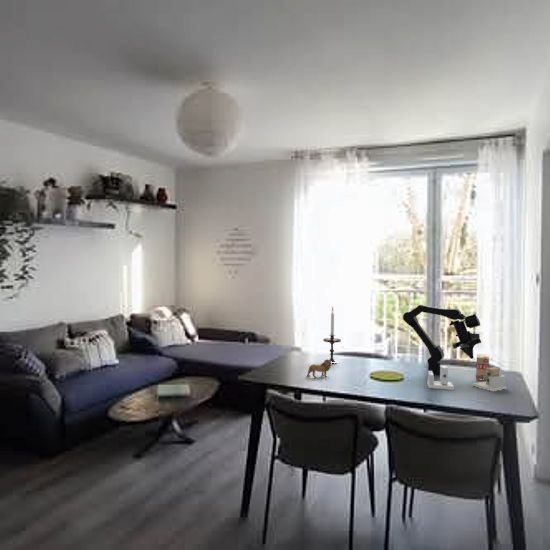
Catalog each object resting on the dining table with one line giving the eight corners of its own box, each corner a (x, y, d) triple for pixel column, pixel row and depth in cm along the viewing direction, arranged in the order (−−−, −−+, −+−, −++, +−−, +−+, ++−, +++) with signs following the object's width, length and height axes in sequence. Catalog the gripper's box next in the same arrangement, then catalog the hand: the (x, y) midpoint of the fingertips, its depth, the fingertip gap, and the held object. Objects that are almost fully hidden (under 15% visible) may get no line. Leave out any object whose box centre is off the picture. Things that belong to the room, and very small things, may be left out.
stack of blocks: (476, 372, 277) (477, 351, 277) (488, 373, 274) (489, 352, 274) (476, 380, 257) (476, 357, 257) (488, 381, 255) (489, 358, 255)
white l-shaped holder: (472, 386, 242) (472, 373, 242) (485, 384, 247) (485, 371, 247) (493, 391, 232) (493, 378, 232) (506, 389, 237) (506, 376, 237)
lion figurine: (328, 374, 264) (328, 358, 264) (333, 376, 259) (333, 360, 259) (304, 376, 258) (304, 360, 258) (308, 378, 253) (309, 361, 253)
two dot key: (485, 384, 238) (485, 368, 238) (493, 383, 241) (494, 367, 241) (490, 385, 235) (491, 369, 235) (499, 384, 238) (499, 368, 238)
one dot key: (446, 381, 243) (446, 365, 243) (447, 384, 237) (448, 368, 237) (439, 381, 244) (440, 365, 244) (441, 383, 238) (441, 367, 238)
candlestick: (320, 361, 302) (321, 305, 302) (336, 360, 305) (337, 305, 304) (326, 364, 292) (327, 306, 291) (343, 364, 294) (344, 306, 294)
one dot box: (450, 384, 245) (451, 372, 245) (453, 389, 235) (453, 376, 235) (427, 383, 247) (427, 370, 247) (428, 387, 238) (429, 374, 237)
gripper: (484, 324, 256) (495, 352, 254) (464, 329, 274) (474, 355, 271) (466, 330, 253) (477, 359, 251) (447, 334, 271) (457, 361, 269)
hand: (472, 358), depth 261 cm, fingers closed
